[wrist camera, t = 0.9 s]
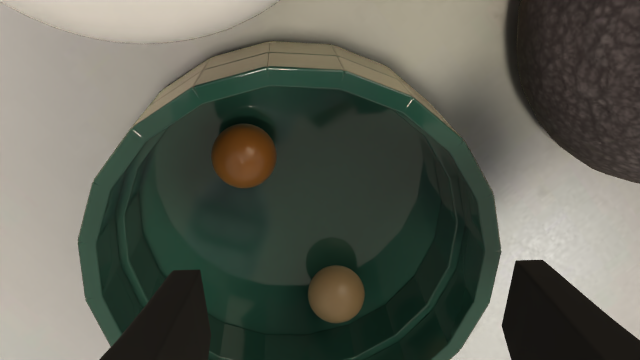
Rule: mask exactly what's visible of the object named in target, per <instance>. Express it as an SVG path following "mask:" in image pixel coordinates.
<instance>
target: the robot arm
mask: <svg viewBox="0 0 640 360" xmlns="http://www.w3.org/2000/svg"><path fill="white" fill-rule="evenodd" d="M502 328H503V332H504V335H505V339H506V343H507V346H508V350H509V353H510V356H511V360H640V340H638V339H637V338H636V337H635V336H633V335H632V334H631V333H629V332H628V331H627V330H626V329H624V328H623V327H622V326H621V325H619V324H618V323H617V322H616V321H614V320H613V319H612V318H611V317H609V316H608V315H607V314H606V313H605V312H603V311H602V310H601V309H600V308H599V307H597V306H596V305H595V304H594V303H593V302H591V301H590V300H589V299H588V298H587V297H586V296H584V295H583V294H582V293H581V292H580V291H579V290H577V289H576V288H575V287H574V286H573V285H572V284H570V283H569V282H568V281H567V280H566V279H565V278H563V277H562V276H561V275H560V274H559V273H558V272H556V271H555V270H554V269H553V268H552V267H551V266H549V265H548V264H547V263H546V262H544V261H543V260H521V261H516V262H515V266H514V271H513V276H512V280H511V285H510V290H509V294H508V299H507V304H506V308H505V313H504V317H503V322H502ZM210 339H211V330H210V324H209V319H208V313H207V307H206V301H205V295H204V289H203V283H202V278H201V272H200V270H173V271H172V272H171V273H170V274H169V275H168V277H167V278H166V279H165V281H164V282H163V283H162V285H161V286H160V287H159V289H158V290H157V291H156V292H155V294H154V295H153V296H152V298H151V299H150V300H149V302H148V303H147V304H146V305H145V307H144V308H143V309H142V311H141V312H140V313H139V314H138V316H137V317H136V318H135V319H134V320H133V322H132V323H131V324H130V325H129V326H128V328H127V329H126V330H125V331H124V332H123V334H122V335H121V336H120V337H119V339H118V340H117V341H116V342H115V343H114V344H113V345H112V347H111V348H110V349H109V350H108V351H107V352H106V353H105V354H104V355H103V356H102V357H101V359H100V360H208V356H209V348H210Z"/></svg>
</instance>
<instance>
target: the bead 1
mask: <svg viewBox="0 0 640 360" xmlns="http://www.w3.org/2000/svg"><path fill="white" fill-rule="evenodd" d="M276 159H277V154H276V148H275V145H274V142H273V141H272V139H271V137H270V136H269V135H268V134H267V133H266V132H265V131H264V130H263V129H261V128H259V127H257V126H255V125H251V124H236V125H233V126H230V127H228V128H226V129H225V130H224V131H222V132H221V133H220V134H219V135H218V137H217V138H216V140H215V142H214V144H213V147H212V152H211V160H212V165H213V168H214V170H215V172H216V173H217V175H218V176H219V177H220V178H221V179H222V180H223V181H224V182H225V183H227V184H229V185H231V186H233V187H237V188H251V187H255V186H257V185H259V184H261V183H263V182H264V181H265V180H266V179H268V177H269V176H270V175H271V173H272V172H273V170H274V168H275V164H276Z"/></svg>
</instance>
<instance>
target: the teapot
mask: <svg viewBox="0 0 640 360" xmlns="http://www.w3.org/2000/svg"><path fill="white" fill-rule="evenodd" d="M517 57H518V70H519V75H520V80H521V85H522V88H523V90H524V92H525V95H526V97H527V99H528V101H529V103H530V105H531V108H532V109H533V111H534V113H535V115H536V117H537V119H538V121H539V123H540V125H541V126H542V127H543V128H544V129H545V130H546V131H547V133H548V134H549V135H550V136H551V137H552V138H553V139H554V140H555V142H556V143H557V144H558V145H559V146H560V147H562V148H563V149H564V150H566V151H567V152H569V153H570V154H571V155H573V156H574V157H575V158H577V159H578V160H580V161H581V162H583V163H585V164H586V165H588V166H589V167H591V168H592V169H595V170H597V171H600V172H602V173H605V174H608V175H611V176H614V177H618V178H621V179H624V180H628V181H631V182H635V183H640V0H521V2H520V5H519V13H518V30H517Z"/></svg>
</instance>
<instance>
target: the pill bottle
mask: <svg viewBox="0 0 640 360" xmlns="http://www.w3.org/2000/svg"><path fill="white" fill-rule="evenodd" d="M278 1H279V0H0V2H2V3H4V4H5V5H7V6H9V7H11V8H12V9H14V10H16V11H18V12H20V13H22V14H24V15H26V16H28V17H30V18H33V19H35V20H38V21H40V22H42V23H45V24H47V25H50V26H52V27H54V28H57V29H61V30H64V31H67V32H70V33H74V34H77V35H80V36H84V37H89V38H93V39H98V40H104V41H111V42H119V43H132V44H157V43H169V42H178V41H185V40H191V39H195V38H200V37H204V36H208V35H212V34H215V33H218V32H221V31H224V30H227V29H230V28H232V27H234V26H236V25H238V24H241V23H243V22H245V21H247V20H249V19H251V18H253V17H255V16H257V15H259V14H260V13H262V12H263V11H265V10H266V9H268V8H270V7H271V6H273V5H274V4H276V3H277V2H278Z"/></svg>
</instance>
